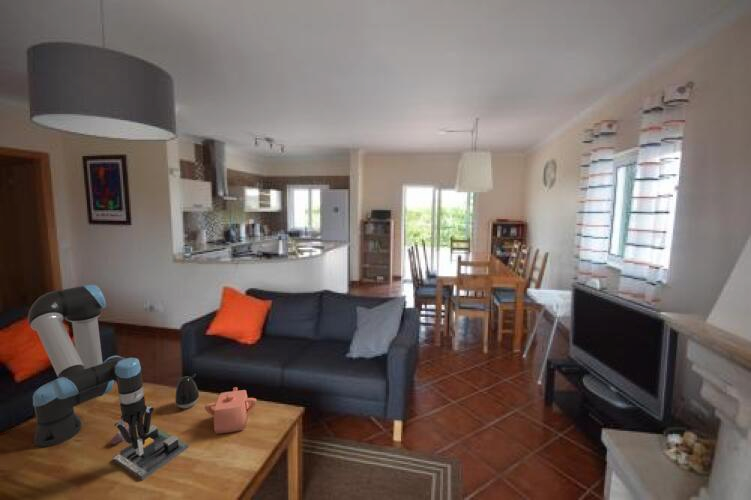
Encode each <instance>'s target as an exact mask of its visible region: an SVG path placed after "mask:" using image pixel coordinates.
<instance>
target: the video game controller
mask: <svg viewBox="0 0 751 500" xmlns="http://www.w3.org/2000/svg"><path fill="white" fill-rule="evenodd" d="M124 427H125V429H126V430H127V432H128V434H129V436H130V431H129V425H128V424H126V425H124ZM136 429H137V425H136ZM124 441H125V440H124V438H123V436H122V434H121V432H120V431H118V432H117V433H116V434H115V436H114V437H112V438H111V439H110V444H111V445H116V444H118V443H119V442H124Z"/></svg>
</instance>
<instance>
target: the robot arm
mask: <svg viewBox="0 0 751 500" xmlns="http://www.w3.org/2000/svg"><path fill="white" fill-rule="evenodd" d="M106 307H107V301H106V298H105V295H104V294H103V291H102V290H101V289H100V287H99V286H98V285H96V284H87V285H81V286H74V287H70V288H66V289H59V290H53V291H50V292H46V293H44V294H43V295H41V296H39V297H38V298H37V299H36V300H35V301H34V303H33V304H32V305H31V306H30V308H29V312H28V314H27V321H28V324H29V326H30V329H32V330H33V331H35V332H36V333H37V335H38V337H39V339H40V342H41V343H42V345H43V348H44V350H45V352H46V355H47V356H48V358H49V361H50V364H51V365H52V368H53V369H54V372H55V374H56V376H57V378H56V379H55V380H52V381H49V382H47V383H45V384H43V385H41V386H40V387H39V388H38V389H36V390H35V391H34V392H33V395H32V406H33V407H34V413H35V417H36V418H35V419H36V423H37V427H36V430H35V434H34V439H33V440H34V444H35V446H37V447H39V448H45V447H46V448H47V447H51V446H56V445H58V444H62V443H64V442H65V441H68V440H69V439H71V438H73V437H75V436H76V435H77V434H78V433H80V431H81V430H82V428H83V424H82V420H81V419H80V417H78V415H77V414H76V412H75V409H74V408H75V407H77V406H79V405H81V404H83V403H87V402H90V401H91V400H94V399H96V398H99V397H102V396H103V395H106V394H108V393H109V392H111V391H112V390H113V389H114V384H115V382H116V385H117V391H118V399H119V403H120V412H121V416H120V420H119V421H118V422H116V423H115V424H114V427H115V428H117V429H118V430H119V431H118V432H121V434H122V436H123V438H124V441H125V442H126V443H128V445H129V444H130V445H132V447H133V448H134V449H135V450H136V454H137V455H139V456H141V455H142V454H144V450H143V444H145V439H144V438H145V437H146V436H145V434H146V433H149V429H150V426H151V421H152V413H153V411H154V409H155V408H154V407H153V406H151V405H148V406H147V405H146V399H145V390H144V385H143V378H142V377H143V376H142V367H141V363H140V359H139V358H136V357H128V358H125V357H122V356H120V355H112V356H109V357H107V358H106V359H105V360H104V361H103V354H102V348H101V346H102V345H101V338H100V330H99V321H98V318H99V317H100V316H101V314H102V310H104V309H105V308H106ZM64 318H66V321H68V322H70V323H71V325H72V326H71V327H72V332H73V340H74V343H73V341H72V339H71V337H70V334H68V333H69V332H68V330H67V328H66V326H65V325H64V323H63V321H64ZM125 423H127V425H129V431H130V436H129V434H128V432H127V430H126V429H125V427H124V426H125ZM136 425H137V428H136Z"/></svg>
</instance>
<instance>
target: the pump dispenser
mask: <svg viewBox="0 0 751 500" xmlns="http://www.w3.org/2000/svg"><path fill="white" fill-rule="evenodd" d="M196 376H197V374H196V373H194V374H192V375H191V376H187V375H186V376H183V377H181V378H180V379H179V381H178V383H177V385H176V386H177V387H176V391H175V396H174V397H175V404H176V405H177V406H178V407H179V408H181V409H188V408H191V407H193V406H194V405H196V404H197V403H198V399H199V396H200V392H199V389H198V386H197V384H196V382H195V381H194V380H193V379H194V378H195V377H196Z"/></svg>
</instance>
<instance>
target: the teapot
mask: <svg viewBox="0 0 751 500" xmlns="http://www.w3.org/2000/svg"><path fill="white" fill-rule="evenodd" d="M249 403H250V404H249ZM256 404H257V398H255V397H248V394H247V390H246V389H242V390H241V389H240V390H238V387H236V386H235V387H233V388H232V391H226V392H225V391H224V392H220V394H219V396H218V398H217V401H216V402H215V401H214V402H210V403H207V404H205V406H204V409H205V411H206V413H208V414H210V415H211V416H213V430H214V433H215V434H217V435H218V434H226V433H232V432H239V431H244V429H245V427H246V426H247V425H246V424H247V422H248V418H249V412H250V411H251V410H252V409H253V408H254V407H255V406H256ZM212 407H214V409H213V408H212Z"/></svg>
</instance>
